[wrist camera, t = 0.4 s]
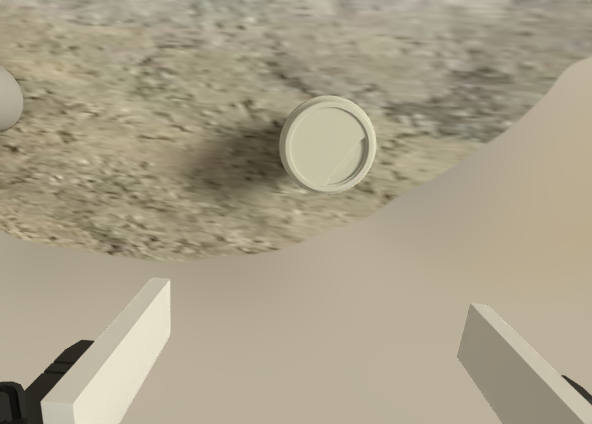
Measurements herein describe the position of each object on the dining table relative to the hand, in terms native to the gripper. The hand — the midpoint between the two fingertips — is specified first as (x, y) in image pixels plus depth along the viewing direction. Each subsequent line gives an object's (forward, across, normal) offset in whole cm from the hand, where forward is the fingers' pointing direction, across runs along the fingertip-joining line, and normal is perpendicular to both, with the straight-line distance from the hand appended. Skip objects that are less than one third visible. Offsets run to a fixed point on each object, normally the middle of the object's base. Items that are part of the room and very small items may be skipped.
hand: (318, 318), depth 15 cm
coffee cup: (+28, +1, +6) cm, 28 cm away
